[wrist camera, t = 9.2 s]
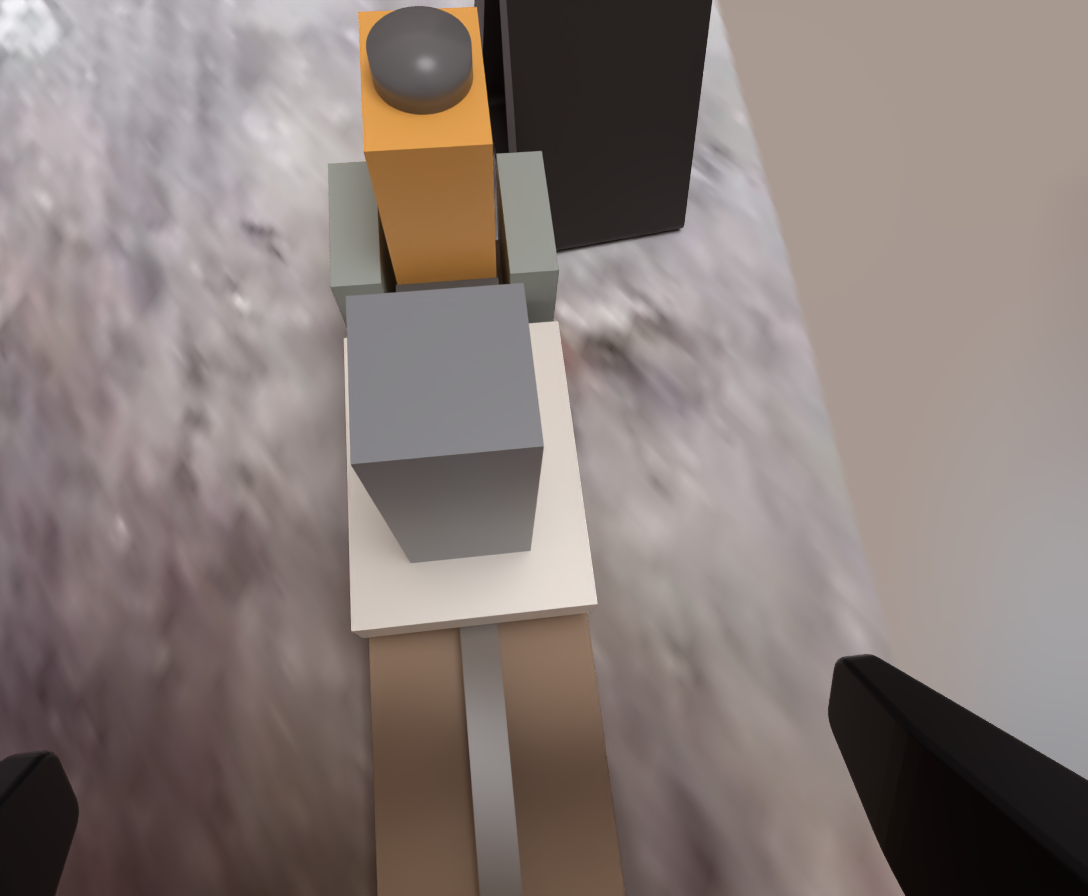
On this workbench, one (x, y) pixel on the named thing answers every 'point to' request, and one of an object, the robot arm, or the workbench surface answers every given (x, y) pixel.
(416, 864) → the rail bed
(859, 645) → the workbench surface
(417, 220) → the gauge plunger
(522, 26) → the phone stand
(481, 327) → the carriage
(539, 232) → the end housing
